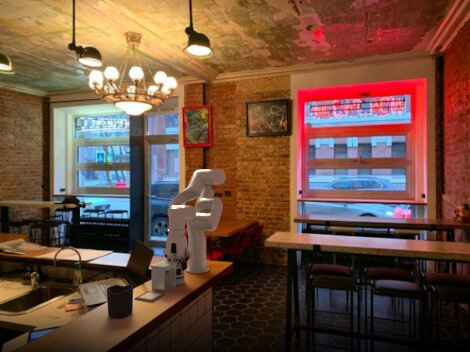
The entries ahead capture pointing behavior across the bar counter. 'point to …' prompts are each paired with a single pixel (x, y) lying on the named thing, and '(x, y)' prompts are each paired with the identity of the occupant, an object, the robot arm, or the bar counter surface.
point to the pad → (150, 296)
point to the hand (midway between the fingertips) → (177, 268)
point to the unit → (163, 276)
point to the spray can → (177, 265)
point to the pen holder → (120, 301)
